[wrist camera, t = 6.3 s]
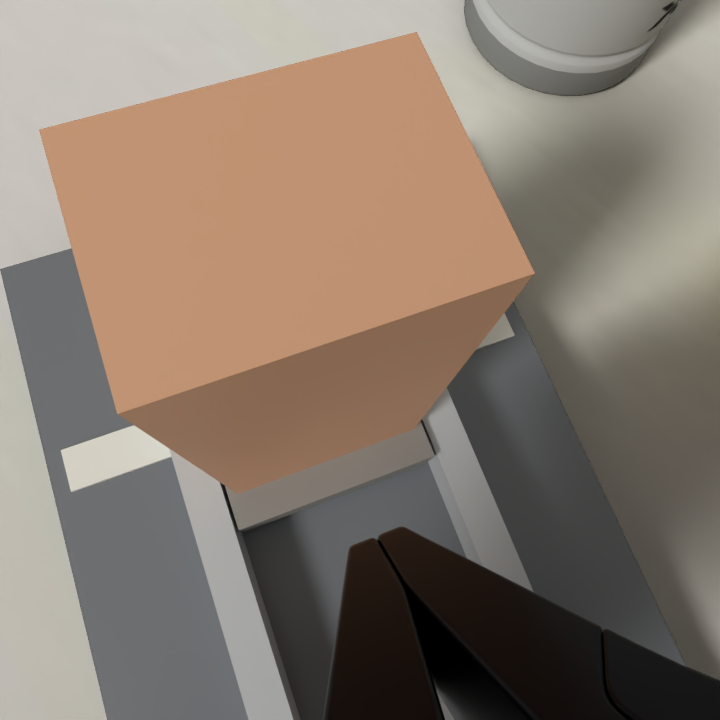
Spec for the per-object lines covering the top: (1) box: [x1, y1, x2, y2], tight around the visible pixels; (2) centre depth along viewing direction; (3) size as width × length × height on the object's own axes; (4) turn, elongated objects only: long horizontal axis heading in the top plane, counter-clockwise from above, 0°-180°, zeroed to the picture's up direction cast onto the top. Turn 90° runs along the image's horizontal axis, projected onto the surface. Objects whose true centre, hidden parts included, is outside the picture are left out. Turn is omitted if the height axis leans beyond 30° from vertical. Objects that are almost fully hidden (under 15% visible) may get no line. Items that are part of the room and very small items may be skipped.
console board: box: [0, 248, 686, 720], centre depth 14 cm, size 19×12×4 cm, turn 21°
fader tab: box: [39, 32, 535, 532], centre depth 10 cm, size 4×4×9 cm
